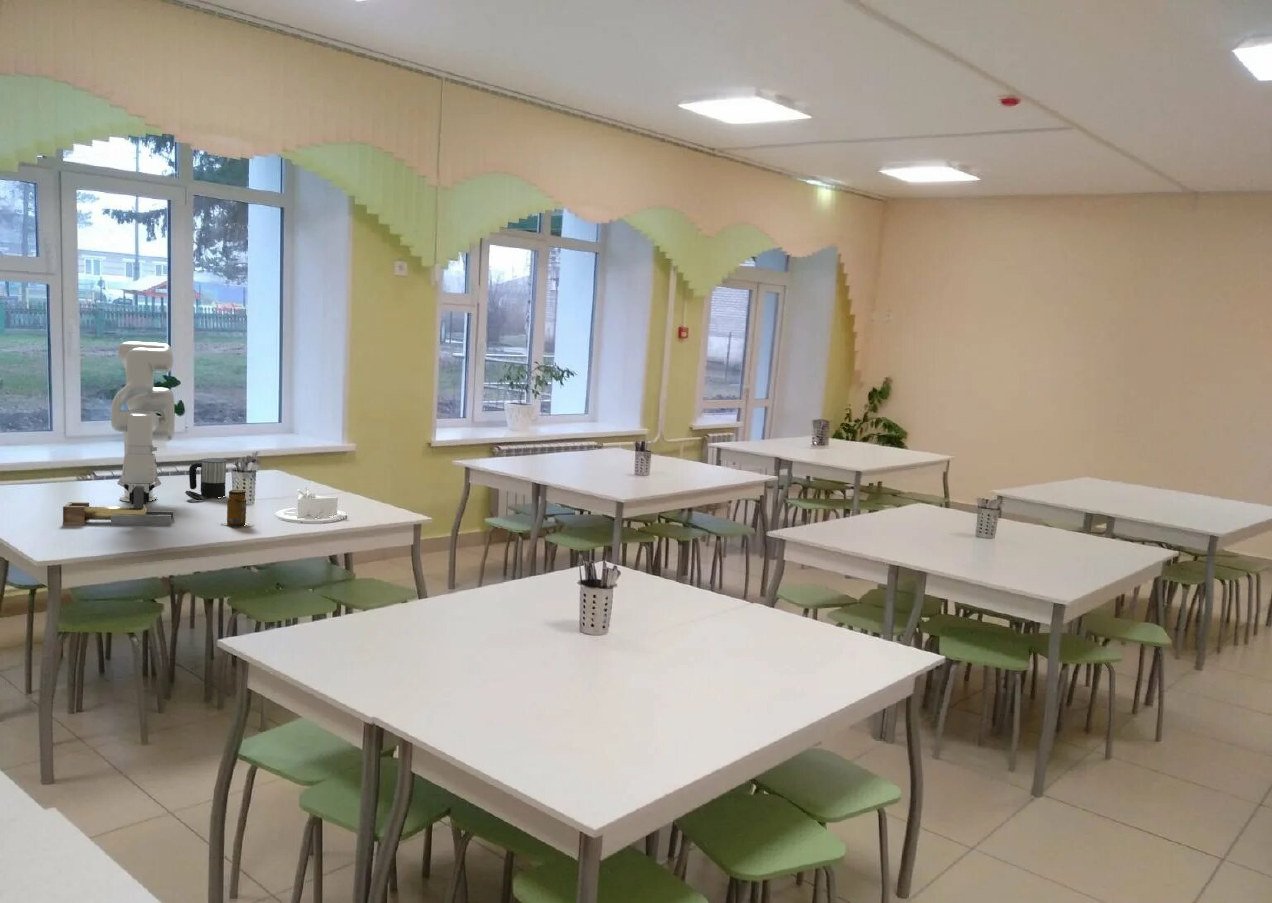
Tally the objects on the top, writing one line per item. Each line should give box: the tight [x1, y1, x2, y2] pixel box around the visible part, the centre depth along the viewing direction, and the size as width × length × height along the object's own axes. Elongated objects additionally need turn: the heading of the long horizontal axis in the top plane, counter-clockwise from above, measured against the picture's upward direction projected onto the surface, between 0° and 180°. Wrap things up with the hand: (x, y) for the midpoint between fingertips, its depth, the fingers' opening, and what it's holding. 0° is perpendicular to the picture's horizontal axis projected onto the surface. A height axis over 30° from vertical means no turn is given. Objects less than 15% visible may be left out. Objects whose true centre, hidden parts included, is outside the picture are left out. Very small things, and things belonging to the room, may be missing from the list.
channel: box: [110, 510, 175, 526], centre depth 325 cm, size 8×18×3 cm, turn 108°
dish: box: [274, 484, 347, 524], centre depth 354 cm, size 25×25×11 cm
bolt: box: [85, 486, 148, 521], centre depth 322 cm, size 4×20×11 cm, turn 108°
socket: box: [62, 501, 90, 526], centre depth 319 cm, size 8×6×6 cm
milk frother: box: [184, 457, 228, 501], centre depth 371 cm, size 14×16×15 cm
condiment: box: [221, 489, 254, 529], centre depth 331 cm, size 7×8×12 cm
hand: (139, 503), depth 324 cm, fingers closed on bolt, 3 cm apart
